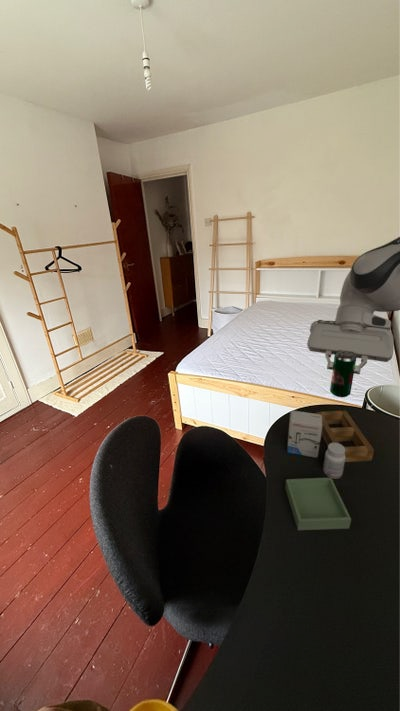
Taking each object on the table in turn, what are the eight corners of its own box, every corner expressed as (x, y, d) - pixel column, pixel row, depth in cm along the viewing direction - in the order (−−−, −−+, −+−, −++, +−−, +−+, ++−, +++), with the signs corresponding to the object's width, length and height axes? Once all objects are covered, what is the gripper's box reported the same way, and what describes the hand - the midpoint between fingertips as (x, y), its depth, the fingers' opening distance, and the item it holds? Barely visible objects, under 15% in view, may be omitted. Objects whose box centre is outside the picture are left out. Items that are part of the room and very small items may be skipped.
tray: (329, 486, 75) (331, 477, 74) (349, 528, 65) (351, 519, 64) (285, 487, 76) (285, 479, 74) (297, 530, 66) (298, 521, 64)
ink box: (286, 452, 86) (289, 420, 81) (287, 441, 90) (290, 409, 85) (318, 458, 84) (322, 425, 78) (318, 446, 88) (322, 414, 83)
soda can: (325, 390, 82) (330, 351, 77) (340, 386, 83) (346, 347, 78) (339, 400, 77) (345, 359, 72) (354, 395, 79) (361, 354, 74)
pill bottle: (346, 475, 78) (351, 451, 74) (332, 481, 76) (336, 457, 73) (332, 462, 82) (336, 439, 78) (319, 468, 80) (322, 444, 77)
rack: (344, 420, 97) (345, 410, 96) (371, 460, 81) (374, 449, 80) (314, 421, 98) (315, 411, 96) (336, 462, 82) (338, 451, 80)
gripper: (311, 314, 82) (300, 360, 79) (398, 321, 72) (390, 374, 69) (313, 324, 88) (303, 367, 84) (394, 332, 78) (386, 382, 75)
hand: (343, 371), depth 77 cm, fingers closed on soda can, 5 cm apart
